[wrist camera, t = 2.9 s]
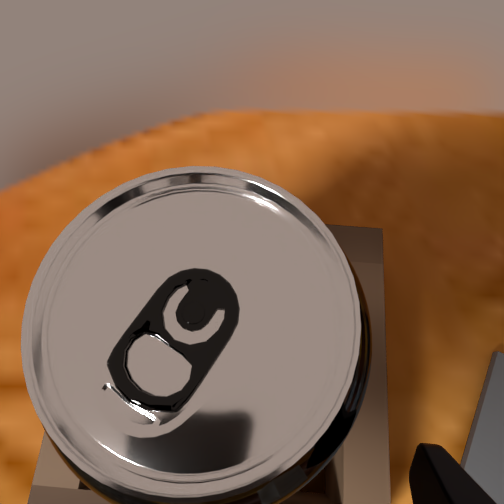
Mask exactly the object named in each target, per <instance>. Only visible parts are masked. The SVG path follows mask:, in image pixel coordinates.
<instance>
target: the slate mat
mask: <svg viewBox="0 0 504 504" xmlns="http://www.w3.org/2000/svg"><path fill="white" fill-rule="evenodd" d="M460 466H461V467H462V468H463V469H464V470H465V471H466V472H467V473H468V474H469V475H470V476H471V477H472V478H473V479H474V480H475V481H476V482H477V483H478V484H479V486H480V487H481V488H482V489H483V490H484V491H485V492H486V493H487V494H488V495H489V496H490V497H491V498H492V499H493V500H494V501H495V502H496V503H497V504H504V354H503V353H501V352H499V351H497V352H493V355H492V358H491V362H490V365H489V368H488V372H487V375H486V379H485V382H484V386H483V389H482V392H481V396H480V399H479V403H478V406H477V410H476V413H475V416H474V420H473V423H472V427H471V430H470V433H469V437H468V440H467V444H466V447H465V451H464V454H463V457H462V461H461V464H460Z"/></svg>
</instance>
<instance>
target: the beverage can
mask: <svg viewBox="0 0 504 504" xmlns="http://www.w3.org/2000/svg"><path fill="white" fill-rule="evenodd" d="M21 353H22V364H23V372H24V376H25V380H26V385H27V389H28V393H29V395H30V398H31V400H32V403H33V406H34V408H35V411H36V413H37V415H38V417H39V419H40V420H41V423H42V425H43V428H44V430H45V432H46V434H47V436H48V438H49V440H50V442H51V443H52V445H53V447H54V448H55V450H56V452H57V453H58V455H59V456H60V457H61V459H62V460H63V462H64V463H65V464H66V465H67V467H68V468H69V469H70V470H71V471H72V472H73V473H74V475H75V476H76V477H77V478H78V479H79V480H80V481H81V482H82V483H84V484H85V485H86V486H87V487H88V488H89V489H91V490H92V491H93V492H94V493H96V494H97V495H98V496H100V497H101V498H103V499H104V500H106V501H108V502H109V503H111V504H278V503H280V502H282V501H284V500H285V499H287V498H289V497H290V496H292V495H293V494H295V493H296V492H297V491H299V490H300V489H301V488H303V487H304V486H305V485H306V484H308V483H309V482H310V481H311V480H312V479H313V478H314V477H315V476H317V474H318V473H319V472H320V471H321V470H322V469H323V468H324V467H325V466H326V465H327V464H328V463H329V462H330V460H331V459H332V458H333V457H334V455H335V454H336V453H337V451H338V450H339V449H340V447H341V446H342V444H343V443H344V441H345V439H346V438H347V436H348V434H349V433H350V431H351V429H352V427H353V425H354V423H355V421H356V419H357V416H358V414H359V412H360V409H361V406H362V404H363V401H364V398H365V394H366V391H367V386H368V382H369V377H370V371H371V363H372V328H371V320H370V314H369V309H368V305H367V301H366V297H365V294H364V291H363V288H362V285H361V283H360V280H359V278H358V276H357V274H356V272H355V269H354V268H353V266H352V264H351V262H350V260H349V259H348V257H347V255H346V254H345V252H344V251H343V249H342V248H341V247H340V245H339V244H338V242H337V241H336V239H335V238H334V236H333V234H332V233H331V232H330V230H329V229H328V228H327V227H326V226H325V224H324V223H323V222H322V221H321V220H320V218H319V217H318V216H317V215H316V214H315V213H314V212H313V211H312V210H311V209H309V208H308V207H307V206H306V205H305V204H304V203H303V202H302V201H301V200H299V199H298V198H296V197H295V196H293V195H292V194H290V193H289V192H287V191H286V190H284V189H283V188H281V187H280V186H277V185H275V184H273V183H271V182H269V181H267V180H265V179H262V178H260V177H258V176H254V175H251V174H248V173H245V172H241V171H238V170H232V169H226V168H220V167H205V166H189V167H180V168H172V169H166V170H162V171H158V172H154V173H150V174H146V175H144V176H141V177H139V178H136V179H134V180H131V181H128V182H126V183H124V184H122V185H120V186H118V187H116V188H115V189H113V190H111V191H109V192H108V193H106V194H104V195H102V196H101V197H100V198H98V199H97V200H96V201H94V202H93V203H92V204H90V205H89V206H88V207H86V208H85V209H84V210H83V211H82V212H81V213H80V214H79V215H78V216H77V217H76V218H75V219H74V220H72V221H71V222H70V223H69V224H68V225H67V226H66V227H65V229H64V230H63V231H62V233H61V234H60V235H59V236H58V238H57V239H56V240H55V241H54V243H53V244H52V246H51V247H50V249H49V251H48V252H47V254H46V256H45V257H44V259H43V260H42V262H41V264H40V266H39V269H38V271H37V273H36V275H35V277H34V280H33V282H32V285H31V288H30V291H29V294H28V298H27V301H26V305H25V311H24V316H23V322H22V335H21Z"/></svg>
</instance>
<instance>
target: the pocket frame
mask: <svg viewBox="0 0 504 504" xmlns="http://www.w3.org/2000/svg"><path fill="white" fill-rule="evenodd" d="M325 226H326V227H327V228H328V229H329V230H330V232H331V233H332V234H333V236H334V238H335V239H336V241H337V242H338V244H339V245H340V247H341V248H342V249H343V251H344V252H345V254H346V255H347V257H348V259H349V260H350V262H351V264H352V266H353V268H354V269H355V272H356V274H357V276H358V278H359V280H360V283H361V285H362V288H363V291H364V294H365V297H366V301H367V305H368V309H369V314H370V320H371V328H372V363H371V371H370V377H369V382H368V386H367V391H366V394H365V398H364V401H363V404H362V406H361V409H360V412H359V414H358V416H357V419H356V421H355V423H354V425H353V427H352V429H351V431H350V433H349V434H348V436H347V438H346V439H345V441H344V443H343V444H342V446H341V447H340V449H339V450H338V451H337V453H336V454H335V455H334V457H333V458H332V459H331V460H330V462H329V463H328V464H327V465H326V468H325V494H324V493H313V492H302V491H297V492H296V493H295V494H293V495H292V496H290V497H289V498H287V499H285V500H284V501H282V502H280V503H278V504H391V494H390V462H389V429H388V397H387V364H386V332H385V299H384V267H383V234H382V229H380V228H367V227H354V226H340V225H327V224H325ZM28 504H111V503H109V502H108V501H106V500H104V499H103V498H101V497H100V496H98V495H97V494H96V493H94V492H93V491H92V490H91V489H89V488H88V487H87V486H86V485H85V484H84V483H82V482H81V481H80V480H79V479H78V478H77V477H76V476H75V475H74V473H73V472H72V471H71V470H70V469H69V468H68V467H67V465H66V464H65V463H64V462H63V460H62V459H61V457H60V456H59V455H58V453H57V452H56V450H55V448H54V447H53V445H52V443H51V442H50V440H49V438H48V436H47V434H46V432H44V436H43V440H42V445H41V449H40V453H39V457H38V461H37V466H36V470H35V474H34V478H33V483H32V487H31V491H30V495H29V499H28Z"/></svg>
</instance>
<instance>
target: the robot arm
mask: <svg viewBox="0 0 504 504" xmlns="http://www.w3.org/2000/svg"><path fill="white" fill-rule="evenodd" d="M409 483H410V489H411V495H412V500H413V504H497V503H496V502H495V501H494V500H493V499H492V498H491V497H490V496H489V495H488V494H487V493H486V492H485V491H484V490H483V489H482V488H481V487H480V486H479V484H478V483H477V482H476V481H475V480H474V479H473V478H472V477H471V476H470V475H469V474H468V473H467V472H466V471H465V470H464V469H463V468H462V467H461V466H460V465H459V464H458V463H457V461H456V460H455V459H454V458H453V457H452V456H451V455H450V454H449V453H448V452H447V451H446V450H445V449H444V448H443V447H442V446H440V445H437V444H427V443H420V444H419V445H418V446H417V448H416V451H415V454H414V458H413V461H412V464H411V467H410V471H409Z"/></svg>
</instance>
